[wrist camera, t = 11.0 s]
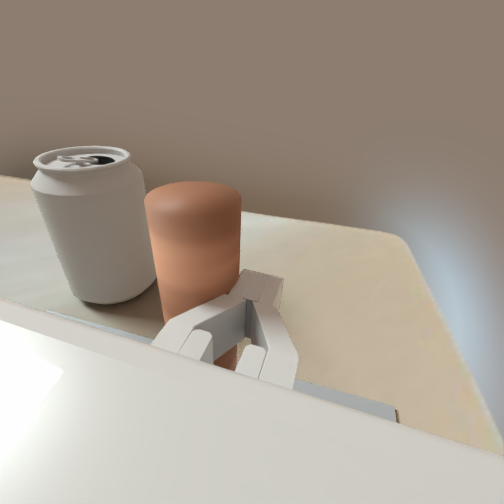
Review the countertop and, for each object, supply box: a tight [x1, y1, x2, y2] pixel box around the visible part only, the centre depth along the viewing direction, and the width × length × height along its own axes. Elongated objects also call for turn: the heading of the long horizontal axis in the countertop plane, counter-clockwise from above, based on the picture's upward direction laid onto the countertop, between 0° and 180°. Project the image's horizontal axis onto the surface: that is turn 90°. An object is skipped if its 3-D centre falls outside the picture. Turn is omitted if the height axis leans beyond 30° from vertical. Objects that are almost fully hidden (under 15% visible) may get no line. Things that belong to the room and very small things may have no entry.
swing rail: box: [144, 181, 241, 371], centre depth 9 cm, size 12×3×14 cm, turn 143°
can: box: [30, 146, 157, 304], centre depth 24 cm, size 8×8×12 cm
